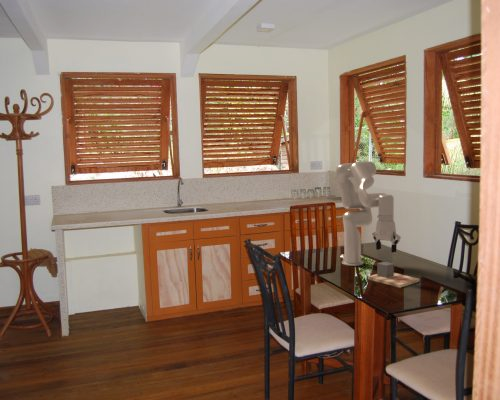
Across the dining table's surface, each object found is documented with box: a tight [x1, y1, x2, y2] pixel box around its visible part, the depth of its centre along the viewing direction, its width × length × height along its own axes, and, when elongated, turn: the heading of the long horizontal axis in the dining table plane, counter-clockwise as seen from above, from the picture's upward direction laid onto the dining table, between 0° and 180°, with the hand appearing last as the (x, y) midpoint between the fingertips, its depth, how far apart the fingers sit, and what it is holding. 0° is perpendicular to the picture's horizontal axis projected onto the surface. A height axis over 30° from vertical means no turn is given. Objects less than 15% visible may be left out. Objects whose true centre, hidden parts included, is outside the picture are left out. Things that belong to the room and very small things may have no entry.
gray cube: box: [376, 261, 395, 278], centre depth 255 cm, size 6×6×6 cm
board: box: [367, 272, 420, 289], centre depth 252 cm, size 20×16×6 cm
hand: (386, 250), depth 254 cm, fingers open, 9 cm apart
